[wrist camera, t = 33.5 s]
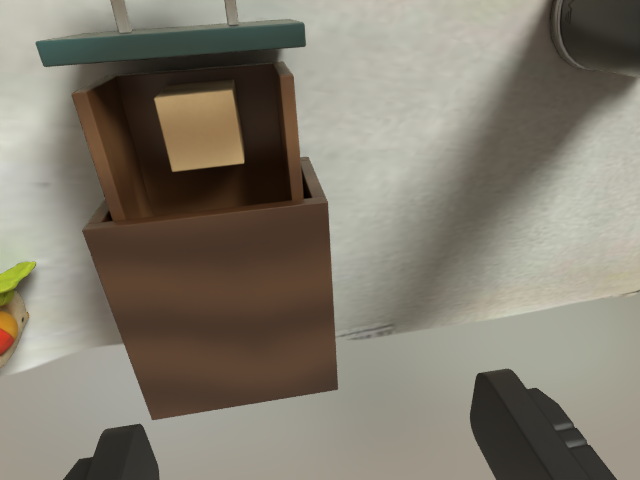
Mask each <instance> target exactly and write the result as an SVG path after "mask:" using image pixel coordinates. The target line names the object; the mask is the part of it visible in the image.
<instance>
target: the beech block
mask: <svg viewBox="0 0 640 480" xmlns="http://www.w3.org/2000/svg"><path fill="white" fill-rule="evenodd" d="M154 102H155V106H156V110H157V114H158V118H159V122H160V126H161V129H162V133H163V137H164V141H165V145H166V149H167V153H168V157H169V161H170V165H171V169H172V172H178V171H186V170H195V169H203V168H212V167H220V166H229V165H237V164H244V138H243V132H242V126H241V119H240V113H239V107H238V101H237V94H236V88H235V82H234V79H229V80H219V81H209V82H199V83H188V84H178V85H168V86H166V87H165V88H164V89H163V90H162V91H161V92H160V93H159V94H158V95H157V96H156V97H155V98H154Z"/></svg>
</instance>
